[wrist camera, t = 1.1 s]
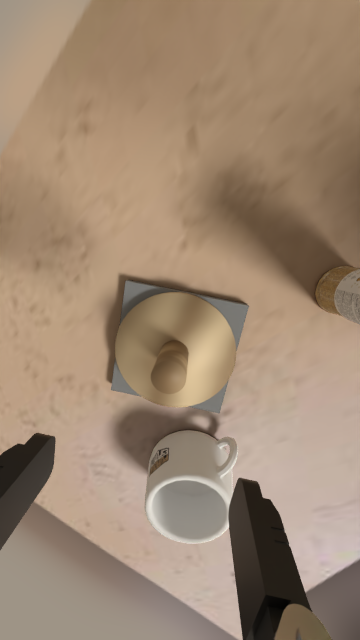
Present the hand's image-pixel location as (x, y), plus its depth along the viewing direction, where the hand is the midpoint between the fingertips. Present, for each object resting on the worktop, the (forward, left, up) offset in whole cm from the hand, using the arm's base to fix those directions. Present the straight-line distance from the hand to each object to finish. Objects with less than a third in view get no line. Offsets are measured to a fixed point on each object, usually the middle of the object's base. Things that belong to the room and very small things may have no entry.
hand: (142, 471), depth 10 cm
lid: (0, 0, -14) cm, 14 cm away
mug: (-5, +13, -16) cm, 21 cm away
